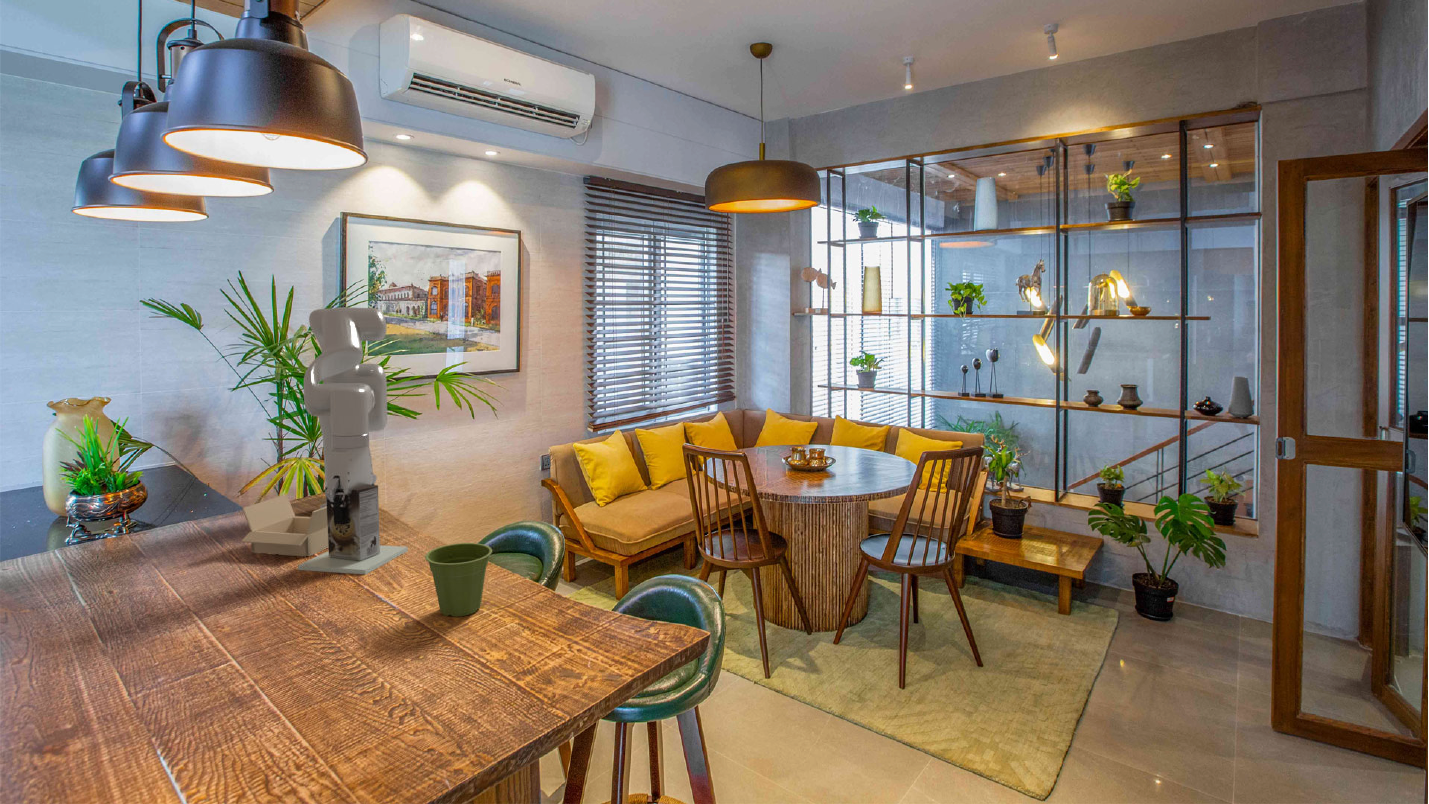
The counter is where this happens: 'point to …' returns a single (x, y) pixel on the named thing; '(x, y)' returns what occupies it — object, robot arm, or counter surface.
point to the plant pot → (459, 576)
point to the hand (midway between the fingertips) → (353, 518)
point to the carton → (285, 529)
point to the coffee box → (356, 526)
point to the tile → (352, 562)
